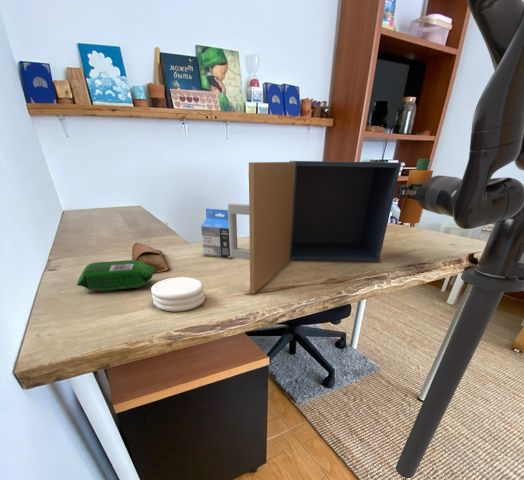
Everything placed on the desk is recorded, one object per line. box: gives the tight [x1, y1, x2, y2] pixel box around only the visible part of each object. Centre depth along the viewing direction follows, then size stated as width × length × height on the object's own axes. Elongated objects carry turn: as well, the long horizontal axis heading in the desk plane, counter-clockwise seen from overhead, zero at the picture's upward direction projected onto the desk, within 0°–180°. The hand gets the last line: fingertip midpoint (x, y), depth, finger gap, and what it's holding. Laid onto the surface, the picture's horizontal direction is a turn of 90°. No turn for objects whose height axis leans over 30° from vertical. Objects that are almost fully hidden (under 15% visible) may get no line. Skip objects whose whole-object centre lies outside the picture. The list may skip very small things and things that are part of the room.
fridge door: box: [227, 161, 296, 295], centre depth 67 cm, size 6×26×24 cm, turn 159°
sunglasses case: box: [131, 242, 169, 274], centre depth 79 cm, size 18×7×7 cm, turn 22°
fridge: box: [288, 160, 402, 263], centre depth 85 cm, size 18×26×24 cm
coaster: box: [150, 276, 206, 312], centre depth 58 cm, size 10×10×4 cm
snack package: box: [76, 259, 158, 292], centre depth 64 cm, size 7×16×5 cm, turn 103°
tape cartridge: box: [200, 208, 233, 259], centre depth 84 cm, size 9×4×12 cm, turn 72°
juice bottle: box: [397, 158, 434, 224], centre depth 80 cm, size 6×6×15 cm
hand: (412, 189), depth 81 cm, fingers closed on juice bottle, 5 cm apart
